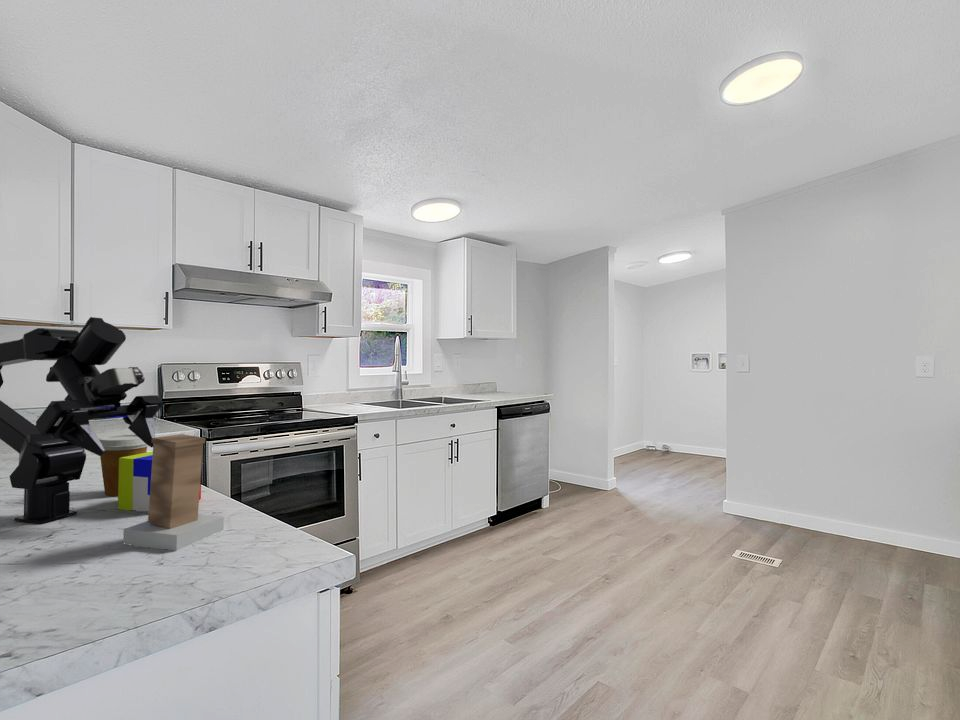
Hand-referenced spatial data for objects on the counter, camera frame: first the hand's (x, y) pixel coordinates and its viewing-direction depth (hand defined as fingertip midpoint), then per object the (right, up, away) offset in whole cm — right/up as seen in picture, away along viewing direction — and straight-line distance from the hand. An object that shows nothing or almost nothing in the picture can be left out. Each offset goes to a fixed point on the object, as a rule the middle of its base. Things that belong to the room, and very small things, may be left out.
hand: (129, 449), depth 88 cm
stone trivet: (+10, -14, -3) cm, 18 cm away
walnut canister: (+9, -11, -3) cm, 15 cm away
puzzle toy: (-4, -14, +15) cm, 21 cm away
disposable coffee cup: (-18, -14, +24) cm, 33 cm away
